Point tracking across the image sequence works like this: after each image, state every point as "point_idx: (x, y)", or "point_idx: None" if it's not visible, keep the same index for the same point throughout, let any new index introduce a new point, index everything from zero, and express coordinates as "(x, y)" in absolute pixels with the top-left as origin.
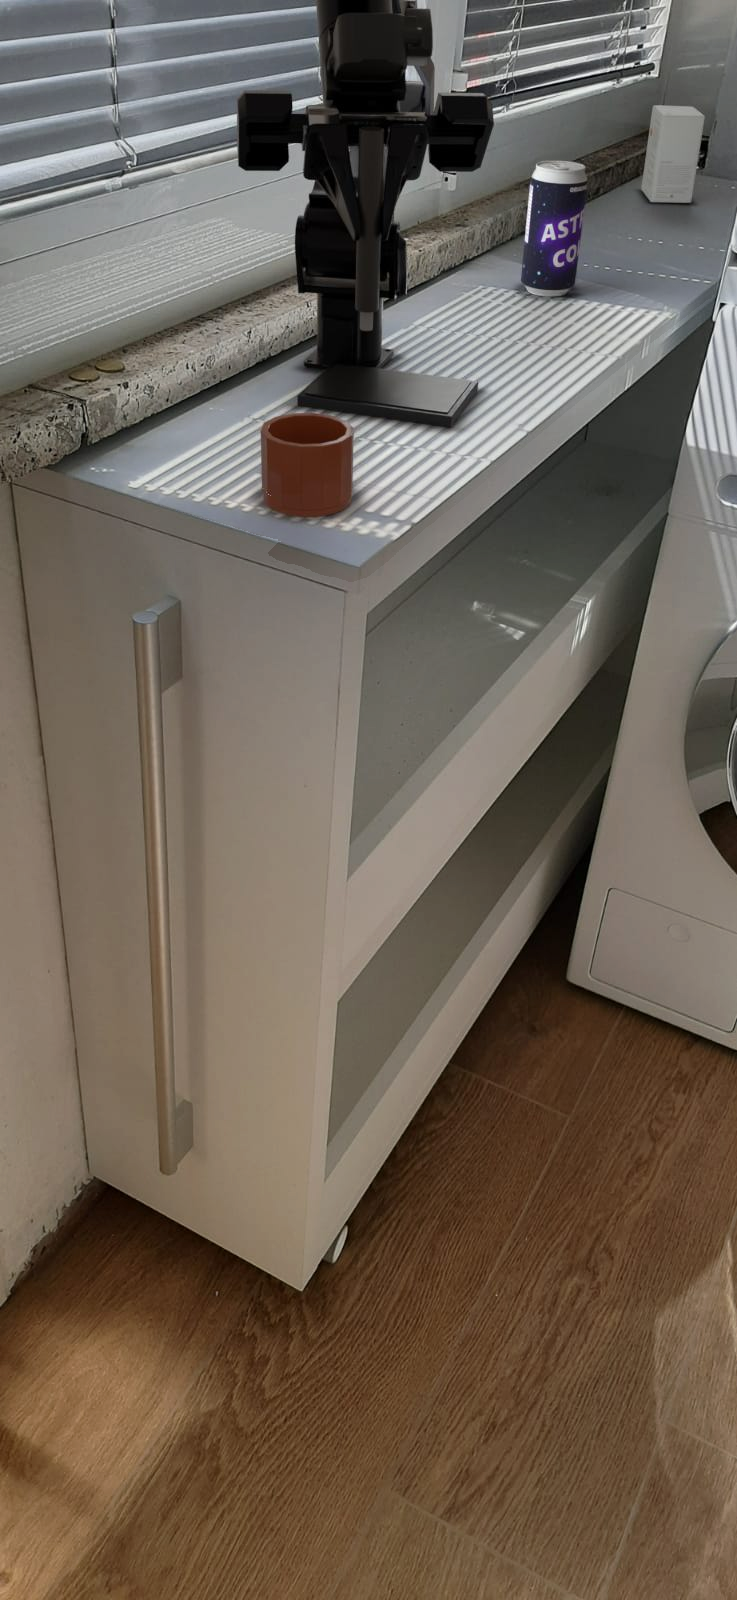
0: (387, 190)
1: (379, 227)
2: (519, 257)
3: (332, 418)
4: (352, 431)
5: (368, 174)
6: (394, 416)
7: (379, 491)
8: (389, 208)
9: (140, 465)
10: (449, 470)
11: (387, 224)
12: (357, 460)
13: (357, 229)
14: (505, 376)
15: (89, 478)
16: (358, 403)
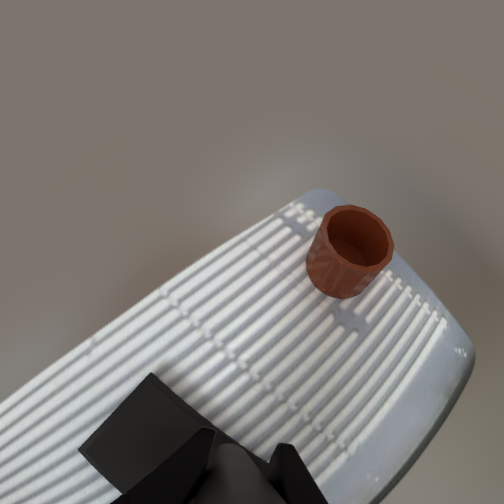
0: (172, 500)
1: (212, 467)
2: None
3: (334, 250)
4: (323, 220)
5: (274, 497)
6: (201, 415)
7: (280, 263)
8: (182, 461)
9: (441, 356)
10: (204, 282)
11: (201, 435)
12: (278, 328)
13: (287, 446)
14: (41, 468)
15: (465, 338)
16: (235, 442)
